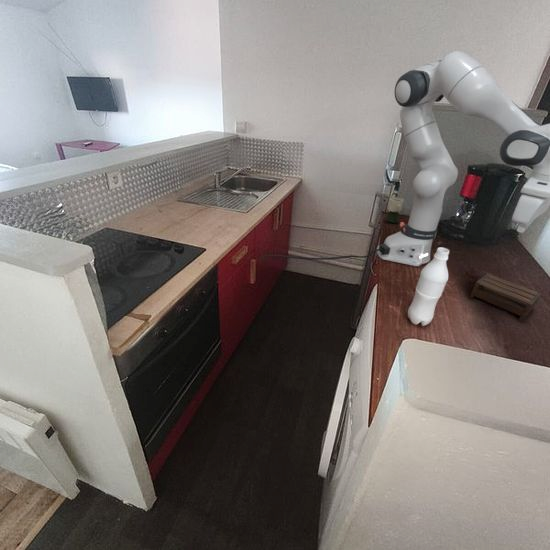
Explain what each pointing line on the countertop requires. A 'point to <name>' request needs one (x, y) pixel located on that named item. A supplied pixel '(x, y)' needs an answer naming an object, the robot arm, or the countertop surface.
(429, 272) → the water bottle
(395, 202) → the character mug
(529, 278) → the countertop surface
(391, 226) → the countertop surface
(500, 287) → the rack
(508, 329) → the countertop surface
